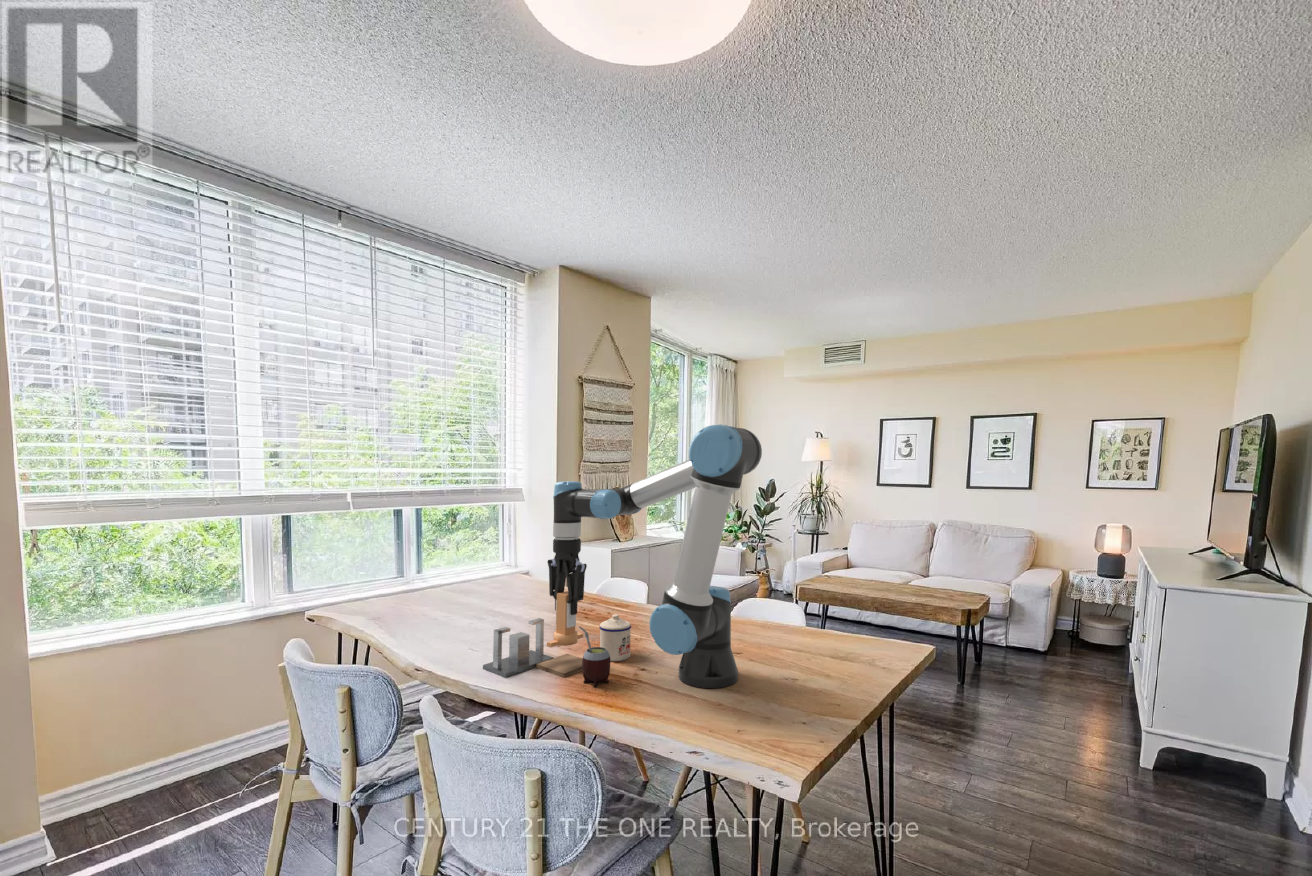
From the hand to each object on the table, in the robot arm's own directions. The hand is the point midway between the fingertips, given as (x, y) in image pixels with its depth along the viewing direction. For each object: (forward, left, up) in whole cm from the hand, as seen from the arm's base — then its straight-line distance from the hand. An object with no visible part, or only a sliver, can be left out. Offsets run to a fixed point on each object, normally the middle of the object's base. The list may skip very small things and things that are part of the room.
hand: (565, 624), depth 151 cm
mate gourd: (-15, +3, -11) cm, 19 cm away
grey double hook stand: (+11, +7, -11) cm, 17 cm away
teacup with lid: (-4, -16, -11) cm, 20 cm away
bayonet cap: (0, 0, -5) cm, 5 cm away
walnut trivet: (0, 0, -11) cm, 11 cm away
